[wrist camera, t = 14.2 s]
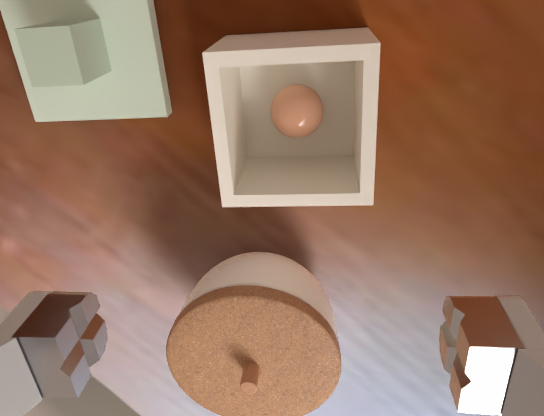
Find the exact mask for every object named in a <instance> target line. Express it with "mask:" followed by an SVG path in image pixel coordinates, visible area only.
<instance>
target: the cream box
mask: <svg viewBox="0 0 544 416" xmlns="http://www.w3.org/2000/svg"><path fill="white" fill-rule="evenodd" d="M202 55H203V63H204V71H205V78H206V86H207V94H208V101H209V109H210V117H211V125H212V132H213V140H214V148H215V156H216V163H217V171H218V179H219V186H220V194H221V202H222V207H276V206H350V205H373V201H374V179H375V156H376V133H377V111H378V88H379V65H380V42H379V41H378V39H377V38H376V37H375V36H374V34H373V33H372V32H371V31H370V29H369V28H368V27H364V28H346V29H328V30H311V31H293V32H276V33H258V34H241V35H226V36H224V37H223V38H222V39H220V40H219V41H217V42H216V43H215V44H213V45H212V46H211V47H209V48H208V49H206V50H205V51H204V52H202ZM292 84H303V85H306V86H308V87H310V88H312V89H313V90H314V91H316V93H317V94H318V95H319V96H320V98H321V101H322V103H323V110H324V111H323V118H322V121H321V123H320V125H319V127H318V128H317V129H316V130H315V131H314V132H313V133H312V134H310V135H308V136H306V137H303V138H290V137H287V136H285V135H283V134H282V133H280V132H279V131H278V130H277V129H276V128H275V126H274V124H273V122H272V120H271V115H270V108H271V103H272V100H273V98H274V97H275V95H276V94H277V93H278V92H279V91H280V90H281V89H282V88H284V87H286V86H288V85H292Z"/></svg>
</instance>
